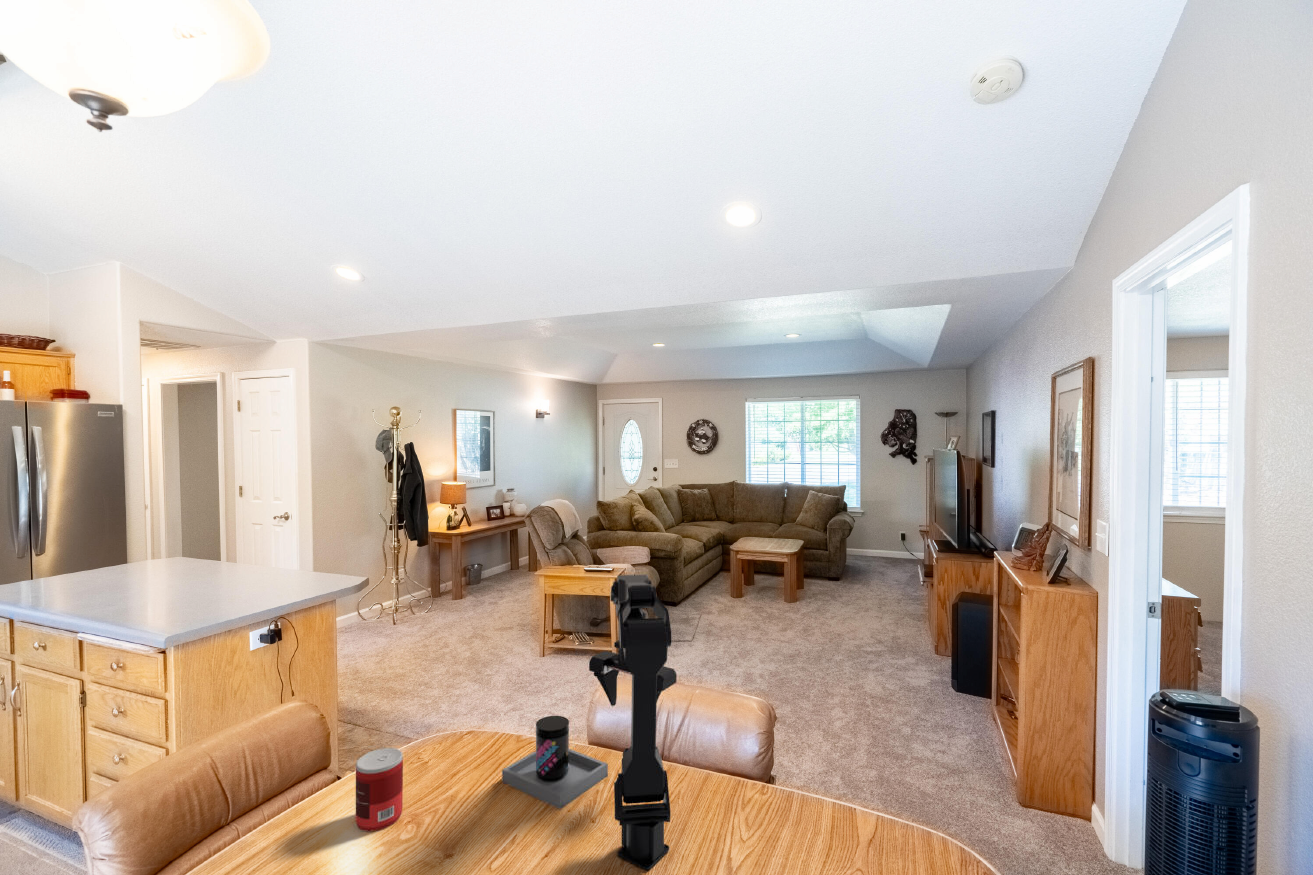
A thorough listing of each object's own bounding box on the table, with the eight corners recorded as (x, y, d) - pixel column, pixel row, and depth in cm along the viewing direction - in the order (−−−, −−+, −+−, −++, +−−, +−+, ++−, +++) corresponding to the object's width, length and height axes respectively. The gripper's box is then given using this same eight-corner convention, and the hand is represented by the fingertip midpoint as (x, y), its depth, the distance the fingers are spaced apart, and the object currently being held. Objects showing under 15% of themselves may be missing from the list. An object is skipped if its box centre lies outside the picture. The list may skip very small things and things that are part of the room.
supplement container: (532, 768, 127) (532, 718, 127) (564, 762, 130) (564, 713, 130) (539, 785, 121) (539, 732, 121) (572, 778, 124) (572, 726, 124)
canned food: (410, 806, 115) (410, 748, 115) (387, 833, 107) (388, 770, 107) (371, 804, 116) (372, 746, 116) (346, 831, 108) (346, 768, 108)
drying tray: (607, 775, 126) (607, 763, 126) (560, 809, 115) (560, 795, 115) (551, 753, 135) (551, 741, 135) (502, 781, 124) (502, 769, 124)
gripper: (691, 634, 128) (690, 708, 128) (619, 617, 138) (619, 686, 138) (661, 649, 118) (660, 729, 119) (587, 631, 129) (586, 704, 129)
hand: (631, 710), depth 126 cm, fingers open, 9 cm apart
